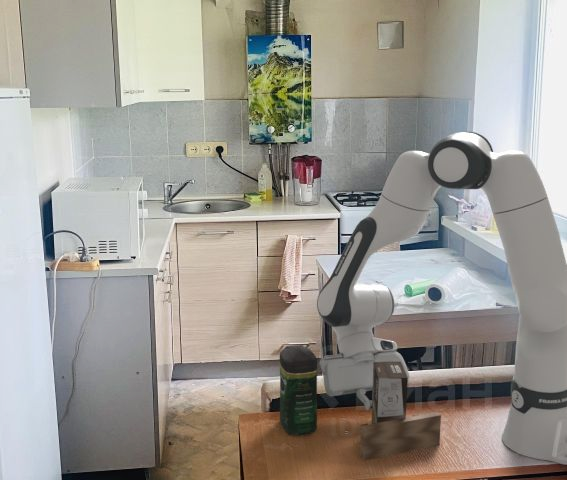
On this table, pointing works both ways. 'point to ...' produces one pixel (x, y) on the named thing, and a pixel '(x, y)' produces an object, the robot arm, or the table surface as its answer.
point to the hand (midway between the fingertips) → (375, 408)
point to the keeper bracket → (400, 435)
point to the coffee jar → (298, 390)
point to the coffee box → (389, 392)
